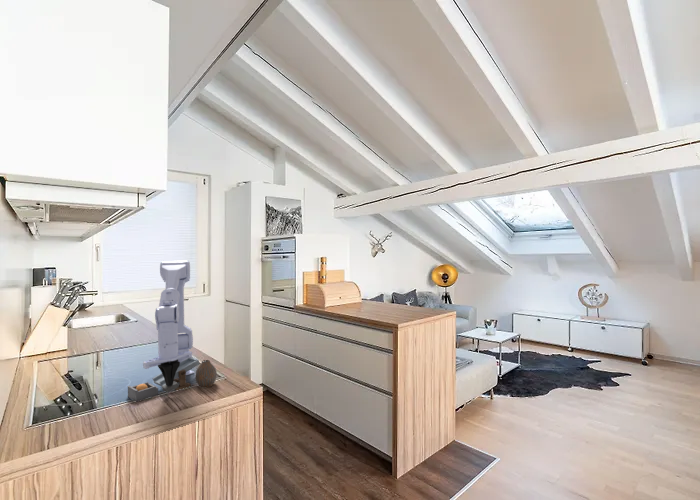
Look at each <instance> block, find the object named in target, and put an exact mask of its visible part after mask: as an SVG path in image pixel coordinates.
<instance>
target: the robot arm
mask: <svg viewBox="0 0 700 500" xmlns="http://www.w3.org/2000/svg"><path fill="white" fill-rule="evenodd" d="M159 273H160V277H161V279H162V281H163V282H164V283H165V288H164V289H163V290H162V291H161V293H160V298H159V304H158V308H157V307H156V308H155V312H154V318H155V326H156V330H157V344H158V345H157V346H158V347H157V350H158V356H157V357H154V358H151V359H148V360H145V361H143V363H142V366H143V369H146V370H148V369H150V368H152V367H156V366H157V367H158V369H159V370H160V372H161V373H162V374H163V376H164V379H165V383H166V385H167V386H171V385H173V381H174V377H175V374H176V371H177V369H178V367H179V365H180V362H182V361H184V360H186V359H187V358H191V357H193V352H192V348H193V345H194V336H193V330H192V328H191V327H189V326H188V325H185V292H184V291H185V284H186V283H188V282H190V279H191V264H190V261H189V260H172V261H171V260H169V261H168V260H167V261H166V260H165V261H164V260H163V261H162V260H161V262H160V264H159ZM190 350H191V351H190ZM194 373H195V371H193V370H192V369H191V370H189V371H187V372H186V376H188V375H192V374H194ZM177 378H178V379H179V377H177Z"/></svg>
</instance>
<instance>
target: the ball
mask: <svg viewBox="0 0 700 500" xmlns="http://www.w3.org/2000/svg"><path fill="white" fill-rule="evenodd" d="M137 385H138V386H137V387H136V389H137V390H138V391H140V390H144V389H147V388H148V387H147V385H146V384H143V383H140V385H139V384H137Z"/></svg>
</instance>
